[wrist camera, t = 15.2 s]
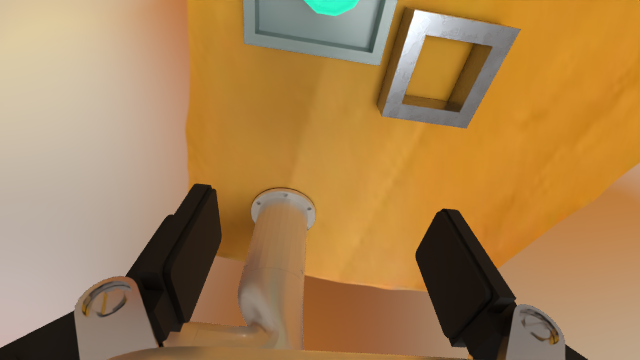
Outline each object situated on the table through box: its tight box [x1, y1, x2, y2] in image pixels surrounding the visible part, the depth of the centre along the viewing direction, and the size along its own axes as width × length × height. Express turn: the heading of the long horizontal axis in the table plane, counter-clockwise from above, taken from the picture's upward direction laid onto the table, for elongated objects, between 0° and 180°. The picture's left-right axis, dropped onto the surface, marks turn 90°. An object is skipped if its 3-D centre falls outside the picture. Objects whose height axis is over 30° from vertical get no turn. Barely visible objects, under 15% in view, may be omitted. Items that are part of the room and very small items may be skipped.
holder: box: [377, 7, 521, 128], centre depth 33 cm, size 12×12×4 cm
